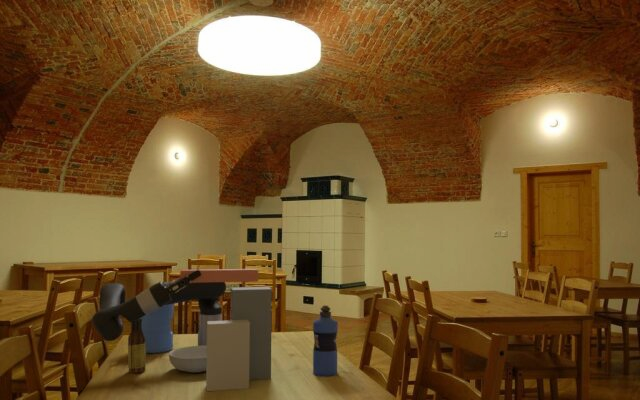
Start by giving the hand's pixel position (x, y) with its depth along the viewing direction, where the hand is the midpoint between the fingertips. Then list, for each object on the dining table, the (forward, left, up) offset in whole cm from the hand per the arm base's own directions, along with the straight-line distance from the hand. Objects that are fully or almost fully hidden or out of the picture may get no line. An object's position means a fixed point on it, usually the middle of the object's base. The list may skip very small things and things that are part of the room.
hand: (199, 271), depth 184 cm
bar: (+5, +4, -3) cm, 7 cm away
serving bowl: (-17, +20, -40) cm, 47 cm away
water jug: (-55, +37, -39) cm, 77 cm away
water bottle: (+29, +38, -39) cm, 62 cm away
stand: (+7, +14, -39) cm, 42 cm away
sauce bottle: (-35, +7, -39) cm, 53 cm away
